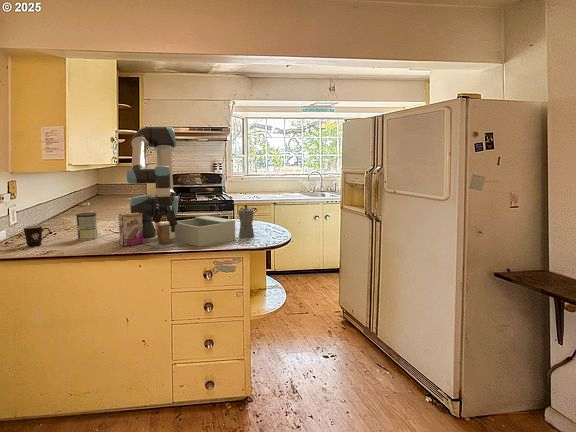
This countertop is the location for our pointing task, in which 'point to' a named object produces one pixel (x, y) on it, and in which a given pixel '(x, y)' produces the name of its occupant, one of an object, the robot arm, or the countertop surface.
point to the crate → (204, 231)
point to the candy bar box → (131, 229)
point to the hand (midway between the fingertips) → (165, 236)
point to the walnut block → (164, 234)
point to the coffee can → (87, 226)
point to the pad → (165, 245)
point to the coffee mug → (34, 235)
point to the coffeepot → (246, 222)
